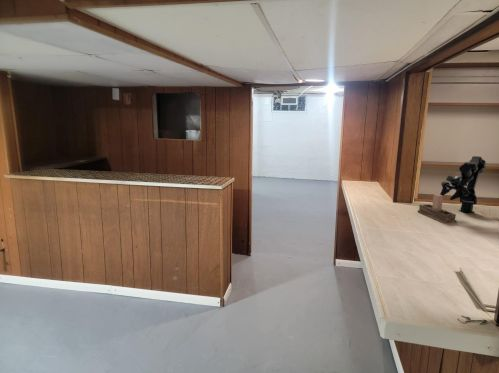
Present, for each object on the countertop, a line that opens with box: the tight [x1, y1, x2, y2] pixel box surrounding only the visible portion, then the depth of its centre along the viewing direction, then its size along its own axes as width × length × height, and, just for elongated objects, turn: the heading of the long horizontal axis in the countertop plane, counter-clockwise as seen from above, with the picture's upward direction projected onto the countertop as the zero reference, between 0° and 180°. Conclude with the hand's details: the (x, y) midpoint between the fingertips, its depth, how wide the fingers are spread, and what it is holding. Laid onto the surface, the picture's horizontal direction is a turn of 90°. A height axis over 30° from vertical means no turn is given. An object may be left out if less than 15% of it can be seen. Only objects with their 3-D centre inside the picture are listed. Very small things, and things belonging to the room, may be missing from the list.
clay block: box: [431, 193, 444, 211], centre depth 200 cm, size 3×4×13 cm, turn 7°
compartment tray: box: [417, 203, 457, 224], centre depth 201 cm, size 9×24×5 cm, turn 7°
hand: (444, 198), depth 200 cm, fingers open, 9 cm apart
